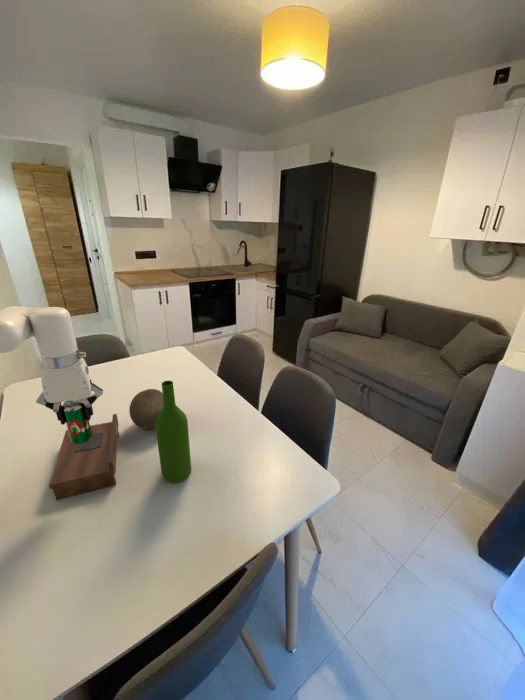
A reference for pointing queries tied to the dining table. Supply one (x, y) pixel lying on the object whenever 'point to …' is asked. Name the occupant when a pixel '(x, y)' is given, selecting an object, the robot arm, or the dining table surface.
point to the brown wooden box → (86, 462)
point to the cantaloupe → (146, 408)
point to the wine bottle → (173, 438)
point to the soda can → (76, 421)
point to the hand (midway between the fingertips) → (76, 418)
